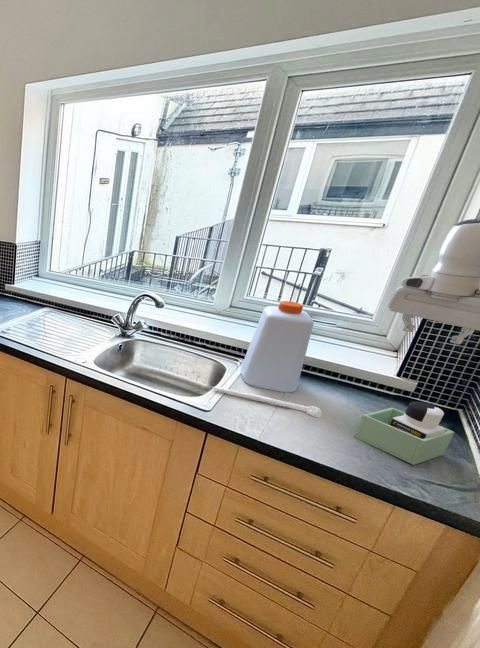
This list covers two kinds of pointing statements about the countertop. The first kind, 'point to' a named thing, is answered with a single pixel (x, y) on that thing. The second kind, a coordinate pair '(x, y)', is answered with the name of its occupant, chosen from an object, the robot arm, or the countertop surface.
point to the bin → (400, 438)
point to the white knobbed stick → (273, 401)
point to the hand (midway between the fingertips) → (430, 337)
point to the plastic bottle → (278, 348)
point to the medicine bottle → (420, 420)
